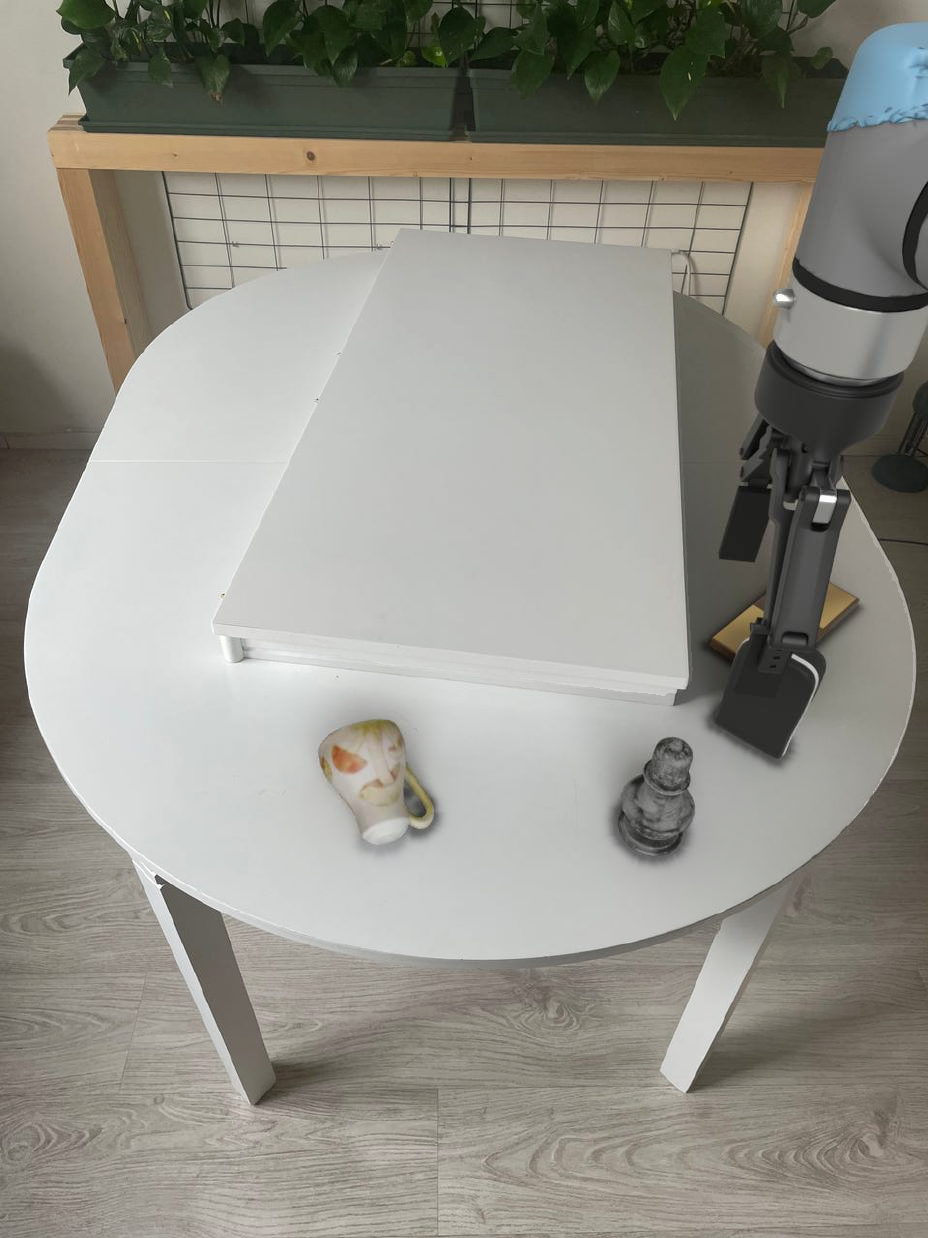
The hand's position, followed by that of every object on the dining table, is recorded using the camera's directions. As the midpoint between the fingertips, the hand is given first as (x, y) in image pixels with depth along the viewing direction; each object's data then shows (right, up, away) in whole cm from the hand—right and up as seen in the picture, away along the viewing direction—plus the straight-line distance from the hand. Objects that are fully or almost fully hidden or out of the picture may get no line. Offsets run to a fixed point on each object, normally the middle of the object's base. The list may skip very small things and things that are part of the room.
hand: (744, 620), depth 67 cm
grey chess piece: (-5, -17, +10) cm, 20 cm away
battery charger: (+6, -10, +17) cm, 21 cm away
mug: (-27, -15, +11) cm, 33 cm away
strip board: (+12, -1, +26) cm, 29 cm away
